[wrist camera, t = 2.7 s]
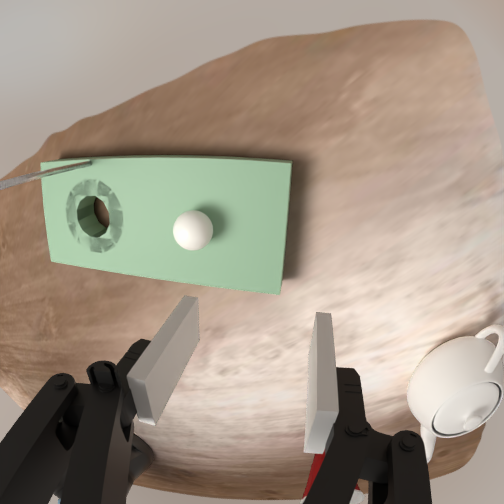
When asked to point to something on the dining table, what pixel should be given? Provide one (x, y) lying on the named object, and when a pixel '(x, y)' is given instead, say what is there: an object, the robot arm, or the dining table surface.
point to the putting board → (172, 217)
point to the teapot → (457, 386)
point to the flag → (43, 174)
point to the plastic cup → (315, 467)
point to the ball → (193, 230)
